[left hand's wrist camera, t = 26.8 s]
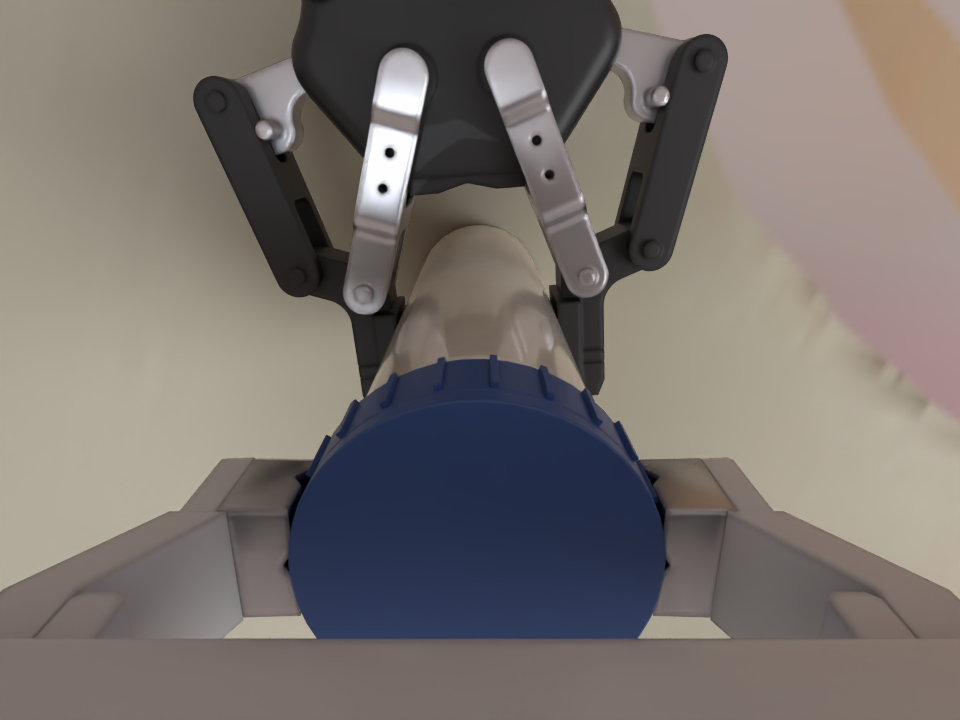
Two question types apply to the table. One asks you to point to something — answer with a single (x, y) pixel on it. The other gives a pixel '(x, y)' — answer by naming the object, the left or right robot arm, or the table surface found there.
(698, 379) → the table surface
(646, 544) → the lid
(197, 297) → the table surface
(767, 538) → the left robot arm
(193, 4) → the table surface
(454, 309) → the jar
